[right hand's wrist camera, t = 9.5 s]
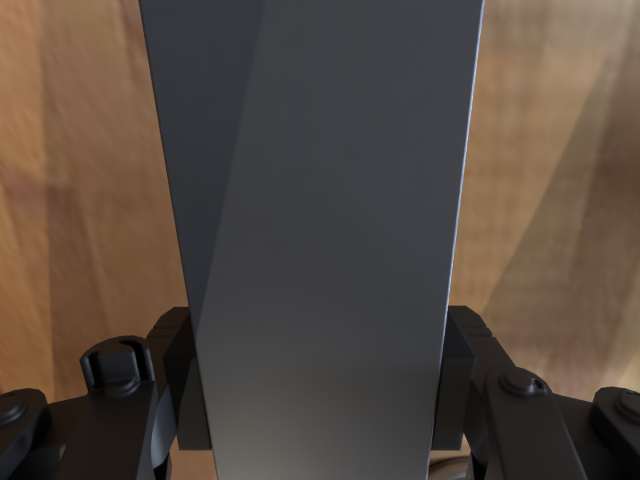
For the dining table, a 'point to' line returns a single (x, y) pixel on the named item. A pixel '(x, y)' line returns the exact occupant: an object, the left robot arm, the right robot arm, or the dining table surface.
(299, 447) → the post
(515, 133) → the dining table surface
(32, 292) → the dining table surface
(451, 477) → the right robot arm
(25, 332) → the dining table surface
